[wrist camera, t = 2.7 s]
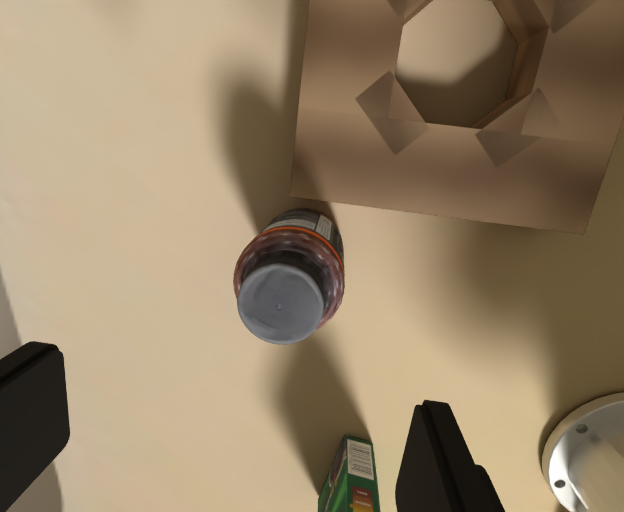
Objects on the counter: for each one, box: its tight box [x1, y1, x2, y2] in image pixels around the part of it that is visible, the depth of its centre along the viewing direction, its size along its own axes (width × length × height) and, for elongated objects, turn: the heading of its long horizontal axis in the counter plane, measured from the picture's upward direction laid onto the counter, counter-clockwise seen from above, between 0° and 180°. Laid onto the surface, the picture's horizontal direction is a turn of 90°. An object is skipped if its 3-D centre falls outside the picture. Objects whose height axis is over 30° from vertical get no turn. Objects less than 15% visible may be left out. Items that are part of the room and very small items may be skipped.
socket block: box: [290, 0, 624, 235], centre depth 21 cm, size 21×18×4 cm
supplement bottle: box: [233, 208, 345, 345], centre depth 22 cm, size 6×6×11 cm
